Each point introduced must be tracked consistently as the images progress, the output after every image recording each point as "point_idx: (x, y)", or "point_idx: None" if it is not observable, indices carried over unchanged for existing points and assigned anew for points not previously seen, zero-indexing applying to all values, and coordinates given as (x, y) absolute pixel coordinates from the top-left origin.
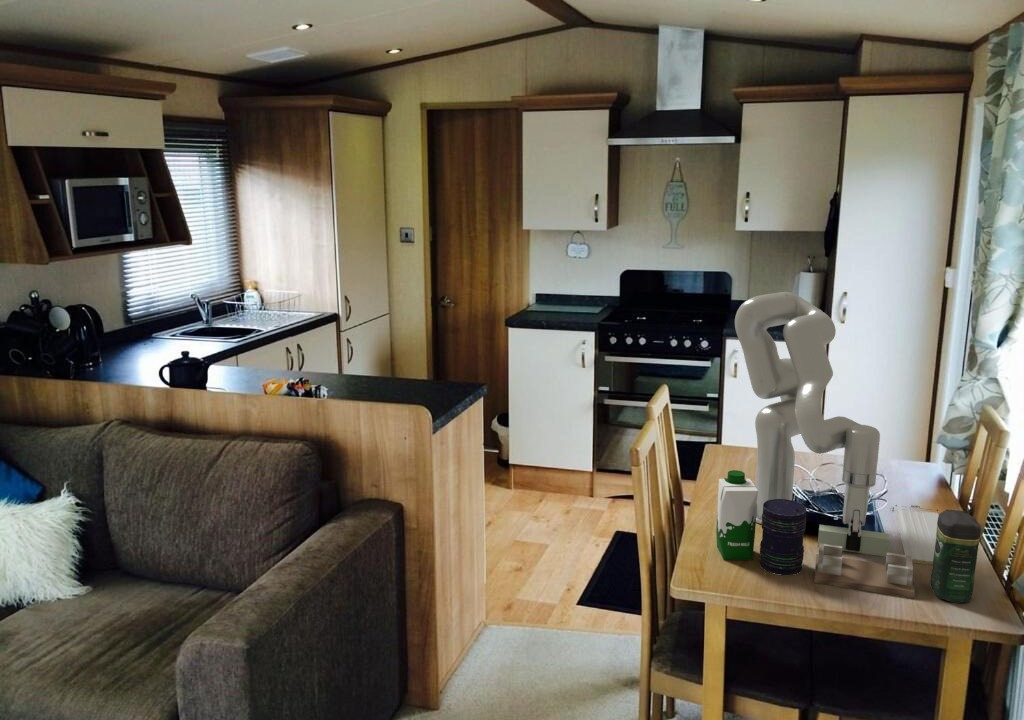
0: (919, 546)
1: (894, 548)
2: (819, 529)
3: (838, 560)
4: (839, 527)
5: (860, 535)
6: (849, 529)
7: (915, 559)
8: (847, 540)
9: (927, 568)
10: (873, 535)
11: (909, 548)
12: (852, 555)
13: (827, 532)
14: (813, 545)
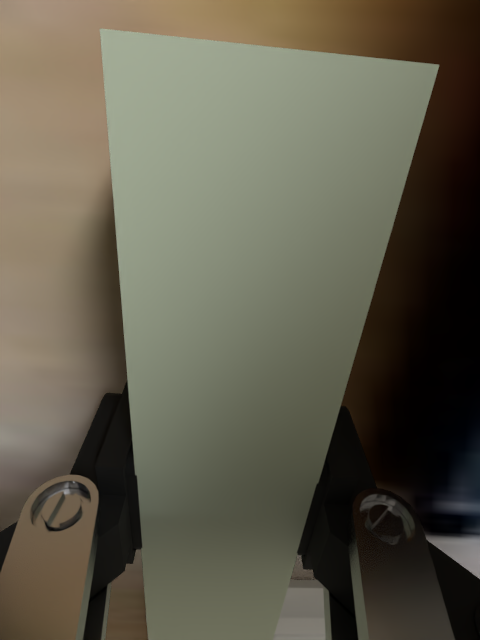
0: (304, 637)
1: (297, 555)
2: (144, 43)
3: None
4: (328, 401)
5: (147, 554)
6: (3, 583)
7: (146, 619)
8: (119, 414)
9: (109, 621)
10: (190, 618)
11: (282, 608)
12: (107, 371)
13: (119, 216)
14: (205, 4)
